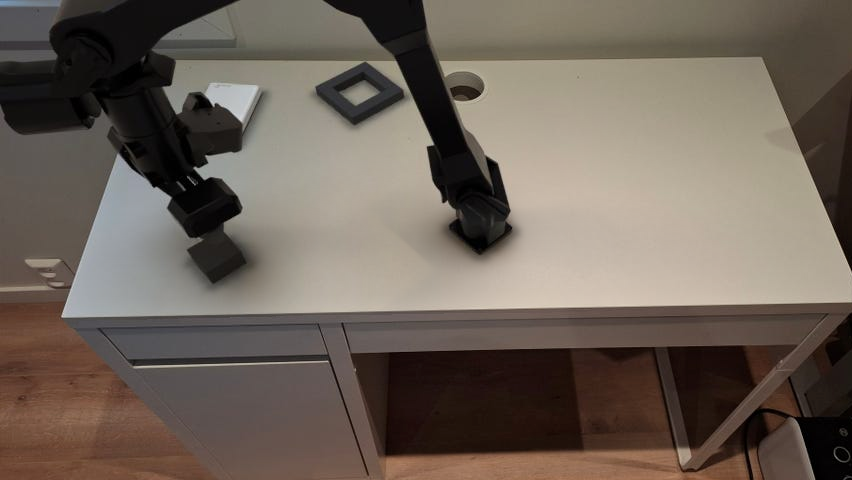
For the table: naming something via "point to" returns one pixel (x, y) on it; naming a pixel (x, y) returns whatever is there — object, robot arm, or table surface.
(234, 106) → the hard drive
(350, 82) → the dark grey square frame
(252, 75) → the table surface
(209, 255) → the black block
